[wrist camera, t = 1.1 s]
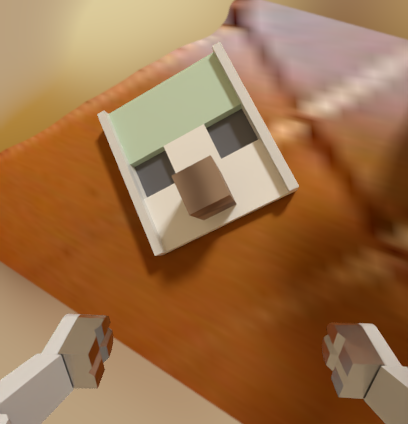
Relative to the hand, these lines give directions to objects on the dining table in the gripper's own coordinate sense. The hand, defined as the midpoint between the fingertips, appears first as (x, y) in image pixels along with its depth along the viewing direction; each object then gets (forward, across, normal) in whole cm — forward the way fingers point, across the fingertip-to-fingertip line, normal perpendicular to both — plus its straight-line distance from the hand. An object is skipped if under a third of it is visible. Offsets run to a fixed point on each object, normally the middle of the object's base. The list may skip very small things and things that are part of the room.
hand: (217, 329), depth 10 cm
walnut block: (+34, 0, +10) cm, 35 cm away
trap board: (+40, +3, +4) cm, 41 cm away
